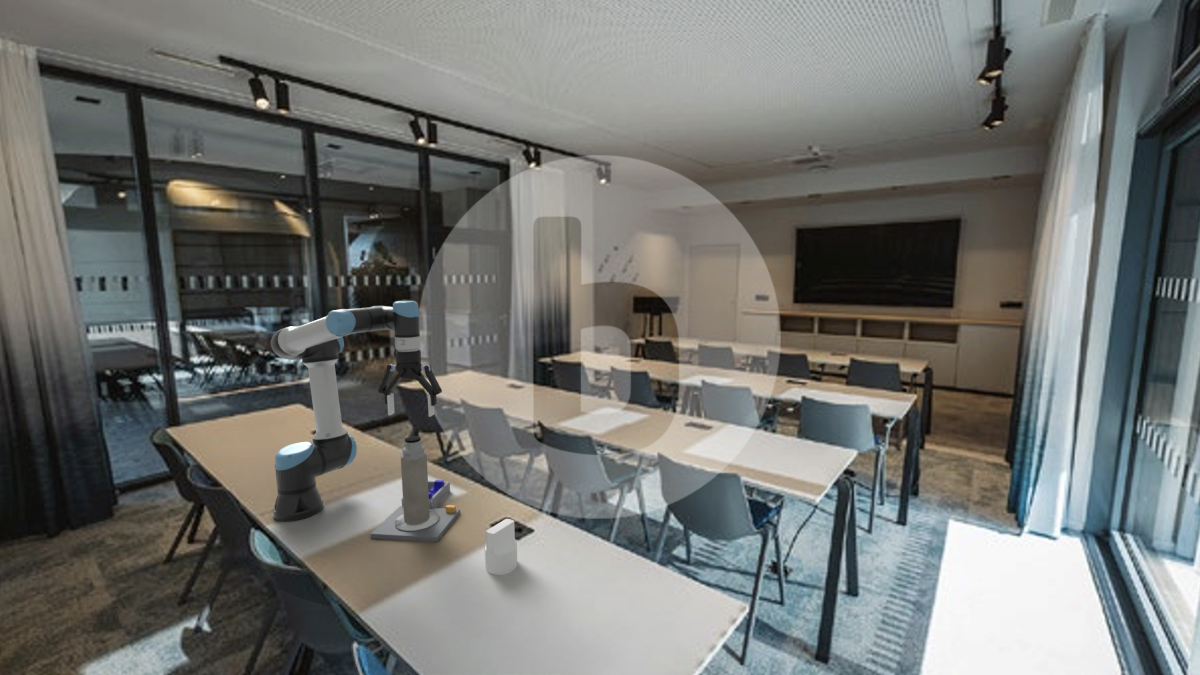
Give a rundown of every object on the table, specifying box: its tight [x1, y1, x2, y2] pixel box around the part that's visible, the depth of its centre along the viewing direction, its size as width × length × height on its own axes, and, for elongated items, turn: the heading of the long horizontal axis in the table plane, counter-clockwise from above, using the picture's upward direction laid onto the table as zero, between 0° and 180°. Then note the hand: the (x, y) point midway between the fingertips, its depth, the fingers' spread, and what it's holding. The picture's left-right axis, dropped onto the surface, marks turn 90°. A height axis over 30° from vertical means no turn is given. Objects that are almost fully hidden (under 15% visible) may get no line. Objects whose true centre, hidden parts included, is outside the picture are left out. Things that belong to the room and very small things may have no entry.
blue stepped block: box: [428, 479, 445, 499], centre depth 187 cm, size 12×4×6 cm, turn 174°
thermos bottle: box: [400, 435, 430, 525], centre depth 168 cm, size 8×8×28 cm
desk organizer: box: [401, 480, 451, 508], centre depth 188 cm, size 11×16×4 cm
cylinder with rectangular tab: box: [484, 518, 518, 576], centre depth 146 cm, size 9×9×12 cm
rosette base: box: [369, 504, 461, 543], centre depth 170 cm, size 22×19×4 cm
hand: (411, 414), depth 165 cm, fingers open, 13 cm apart
